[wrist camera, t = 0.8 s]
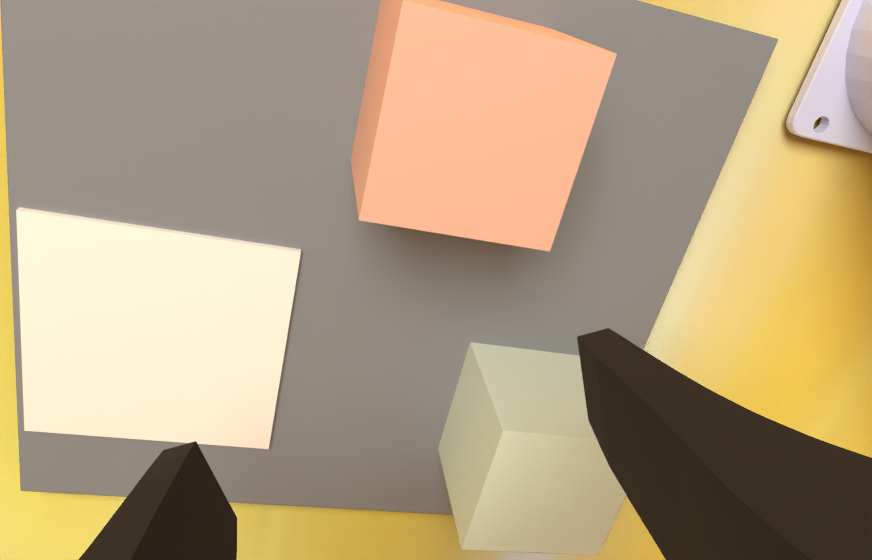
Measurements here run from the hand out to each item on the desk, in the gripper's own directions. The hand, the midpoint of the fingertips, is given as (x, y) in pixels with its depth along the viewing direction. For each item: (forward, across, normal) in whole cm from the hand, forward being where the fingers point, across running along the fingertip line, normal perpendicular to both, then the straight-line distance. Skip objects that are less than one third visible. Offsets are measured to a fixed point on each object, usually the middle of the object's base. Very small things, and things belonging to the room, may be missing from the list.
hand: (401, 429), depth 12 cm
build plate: (+10, 0, +1) cm, 10 cm away
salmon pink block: (+9, -3, -4) cm, 10 cm away
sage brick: (+9, -3, +8) cm, 12 cm away
